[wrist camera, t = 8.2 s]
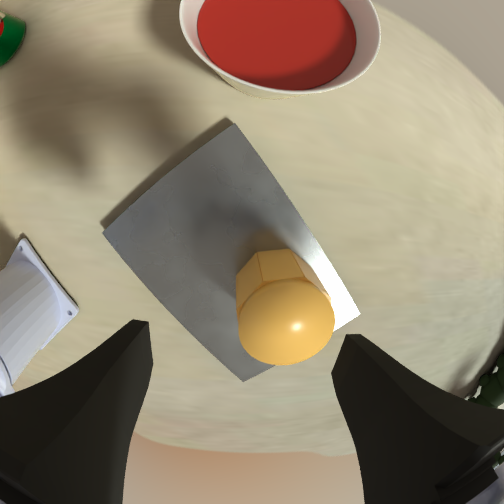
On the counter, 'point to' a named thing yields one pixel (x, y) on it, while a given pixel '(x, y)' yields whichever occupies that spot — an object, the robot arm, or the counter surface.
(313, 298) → the orange cap
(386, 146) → the counter surface
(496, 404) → the toy figurine
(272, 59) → the candle
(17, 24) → the soda can
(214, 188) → the plate
